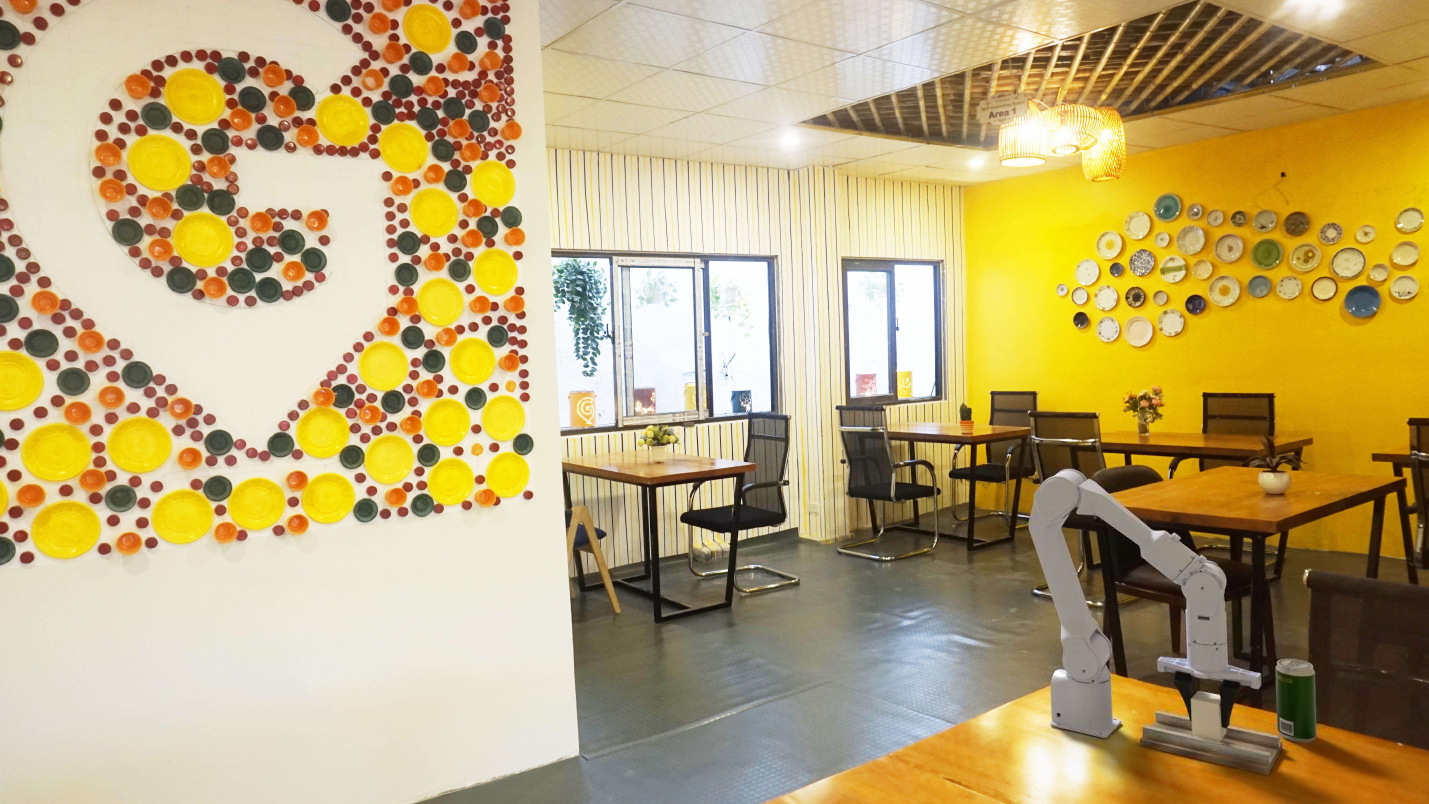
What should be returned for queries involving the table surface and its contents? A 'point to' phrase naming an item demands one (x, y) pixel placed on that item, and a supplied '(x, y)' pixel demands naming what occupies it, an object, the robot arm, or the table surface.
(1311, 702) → the beer can
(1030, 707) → the table surface
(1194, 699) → the cream block
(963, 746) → the table surface
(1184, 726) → the track
